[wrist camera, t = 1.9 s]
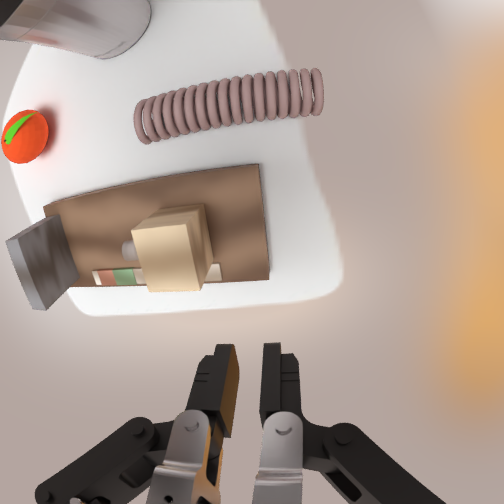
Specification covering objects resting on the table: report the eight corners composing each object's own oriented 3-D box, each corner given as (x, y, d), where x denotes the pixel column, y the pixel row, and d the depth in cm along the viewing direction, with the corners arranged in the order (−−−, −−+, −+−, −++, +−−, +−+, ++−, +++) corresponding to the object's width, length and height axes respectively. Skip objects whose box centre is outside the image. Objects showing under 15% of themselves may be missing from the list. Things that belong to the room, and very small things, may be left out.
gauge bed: (52, 202, 30) (1, 229, 21) (258, 163, 26) (250, 181, 17) (76, 279, 35) (37, 319, 25) (269, 270, 31) (267, 328, 22)
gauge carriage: (132, 213, 27) (103, 234, 22) (203, 203, 26) (185, 224, 21) (151, 282, 31) (130, 312, 25) (217, 279, 30) (205, 313, 24)
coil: (133, 149, 23) (334, 116, 20) (123, 103, 20) (327, 64, 18) (152, 141, 27) (324, 114, 24) (143, 101, 24) (318, 70, 22)
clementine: (51, 92, 23) (13, 92, 17) (70, 129, 25) (30, 135, 19) (22, 132, 25) (-13, 140, 19) (39, 168, 28) (3, 181, 21)
